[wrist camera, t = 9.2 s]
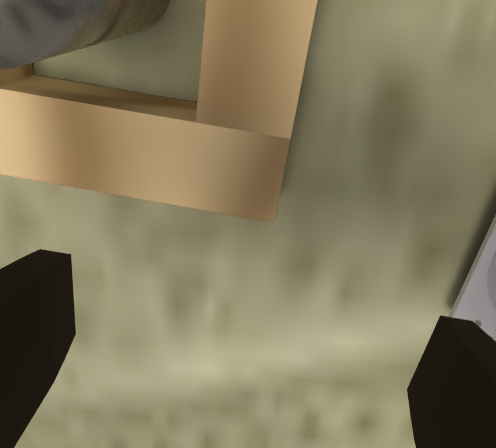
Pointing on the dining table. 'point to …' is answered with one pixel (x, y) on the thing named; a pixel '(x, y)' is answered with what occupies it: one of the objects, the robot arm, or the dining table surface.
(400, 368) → the dining table surface
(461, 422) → the robot arm
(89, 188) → the square wooden frame
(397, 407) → the dining table surface
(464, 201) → the dining table surface
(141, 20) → the cylindrical peg
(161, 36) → the dining table surface
